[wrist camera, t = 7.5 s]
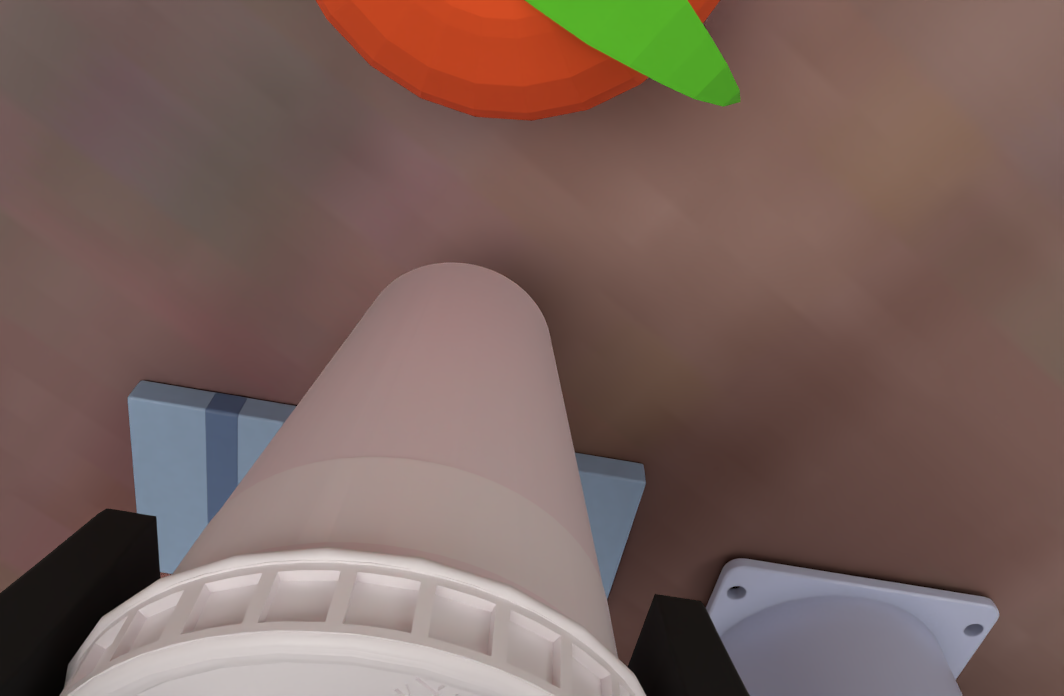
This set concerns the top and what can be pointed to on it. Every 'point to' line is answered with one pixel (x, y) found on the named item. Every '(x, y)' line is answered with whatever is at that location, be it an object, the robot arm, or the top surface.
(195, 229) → the top surface
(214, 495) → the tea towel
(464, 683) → the smoothie
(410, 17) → the clementine
